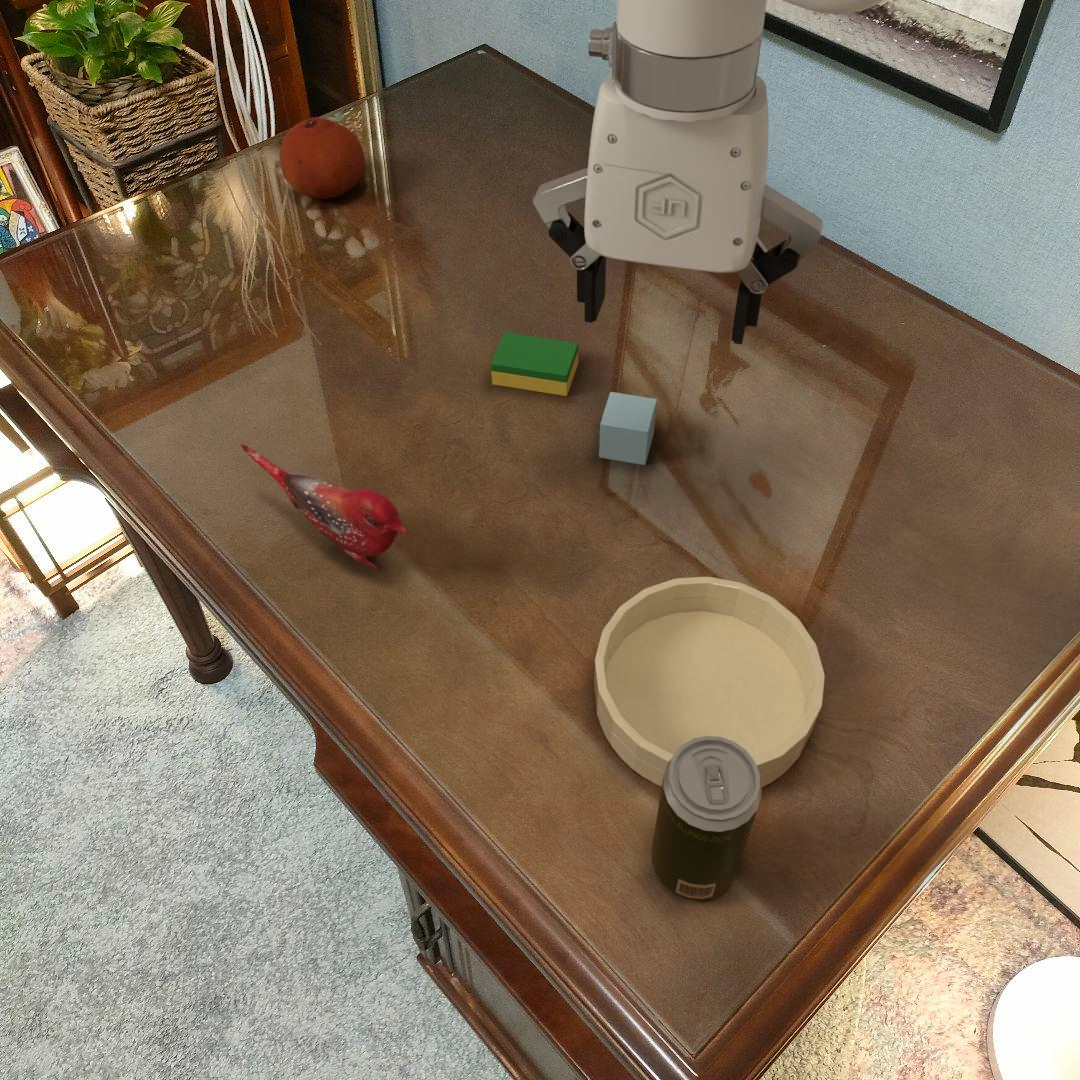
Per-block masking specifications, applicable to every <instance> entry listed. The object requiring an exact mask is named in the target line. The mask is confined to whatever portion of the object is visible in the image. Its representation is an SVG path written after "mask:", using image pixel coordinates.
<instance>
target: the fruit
mask: <svg viewBox="0 0 1080 1080" xmlns="http://www.w3.org/2000/svg"><path fill="white" fill-rule="evenodd" d="M279 163H280V169H281V172H282V175H283V177H284V179H285V180H286V182H287V183H288V184H289V185H290V186H291V187H292V188H293V189H294V190H295V191H296V192H297V193H300V194H301V195H303V196H306V197H308V198H309V197H310V198H314V199H320V200H321V199H322V200H326V199H327V200H329V199H333V198H337V197H339V196H342V195H344V194H346V193H347V192H349V191H350V190H351V189H352V188H354V187H355V186H356V185H358V183H359V182H360V181H361V179H362V177H363V175H364V173H365V171H366V157H365V153H364V149H363V146H362V144H361V142H360V140H359V138H358V137H357V136H356V134H355V133H354V132H353V131H352V130H350V129H349V128H347V126H345V125H343V124H341V123H339V122H337V121H335V120H332V119H327V118H323V117H319V116H314V117H313V116H312V117H310V118H307V119H305V120H302V121H300V122H297V123H296V124H295V125H294V126H292V127H291V129H289V130H288V132H287V133H286V134H285V135H284V136H283V139H282V141H281V145H280V149H279Z"/></svg>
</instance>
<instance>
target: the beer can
mask: <svg viewBox="0 0 1080 1080" xmlns="http://www.w3.org/2000/svg"><path fill="white" fill-rule="evenodd" d="M762 794H763V793H762V788H761V780H760V773H759V771H758V768H757V766H756V763H755V761H754V760H753V758H752V757H751V756H750V754H749V753H748V752H747V751H746V750H745V749H744V748H742V747H741V746H740V745H738V744H737V743H735V742H734V741H731V740H728V739H725V738H723V737H716V736H704V737H699V738H694V739H692V740H690V741H689V742H687V743H685V744H683V745H682V746H681V747H680V748H679V749H678V751H677V752H676V753H675V754H674V756H673V757H672V758H671V759H670V760H669V762H668V764H667V767H666V769H665V772H664V775H663V781H662V787H661V788H660V794H659V795H660V796H659V801H658V808H657V814H656V819H655V825H654V826H655V827H654V833H653V837H652V838H653V839H652V843H651V844H652V845H651V863H652V867H653V870H654V874H655V875H656V878H658V879H659V881H660V882H661V884H662V885H663V886H664V887H665V888H666V889H667V890H669V892H671V893H672V894H673V895H676V896H678V897H681V898H683V899H685V900H689V901H698V902H699V901H700V902H702V901H706V900H710V899H715V898H716V897H718V896H719V895H721V894H722V893H725V892H726V891H727V889H729V887H730V885H731V884H732V883H733V882H734V880H735V878H736V874H737V871H738V869H739V865H740V863H741V859H742V857H743V853H744V851H745V848H746V845H747V841H748V839H749V837H750V836H749V835H750V834H751V830H752V827H753V824H754V821H755V818H756V815H757V812H758V809H759V806H760V803H761V801H762V797H763V795H762Z"/></svg>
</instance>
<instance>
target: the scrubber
mask: <svg viewBox="0 0 1080 1080" xmlns="http://www.w3.org/2000/svg"><path fill="white" fill-rule="evenodd" d="M491 359H492V360H491V361H490V375H491V385H495V386H499V387H506V388H512V389H518V390H519V389H520V390H524V391H531V392H538V393H543V394H549V395H556V396H561V397H562V396H563V397H567V396H568V394H569V392H570V388H571V386H572V383H573V381H574V378H575V374H576V371H577V368H578V366H579V343H578V342H573V341H566V340H561V339H553V338H548V337H547V338H546V337H540V336H534V335H527V334H520V333H513V332H508V331H507V332H506V331H504V332H503V334H502V336H501V339H500V341H499V343H498V345H497V347H496V350H495V352H494V355H493V357H492V358H491Z"/></svg>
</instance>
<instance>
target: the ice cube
mask: <svg viewBox="0 0 1080 1080" xmlns="http://www.w3.org/2000/svg"><path fill="white" fill-rule="evenodd" d="M657 403H658V399H657V398H652V397H647V396H639V395H635V394H627V393H622V392H614V391H610V392H609V395H608V397H607V400H606V404H605V407H604V410H603V414H602V417H601V420H600V423H599V450H598V457H599V458H600V459H606V460H612V461H617V462H624V463H629V464H636V465H641V466H646V464H647V461H648V458H649V453H650V450H651V445H652V441H653V437H654V434H655V425H656V414H657Z"/></svg>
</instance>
